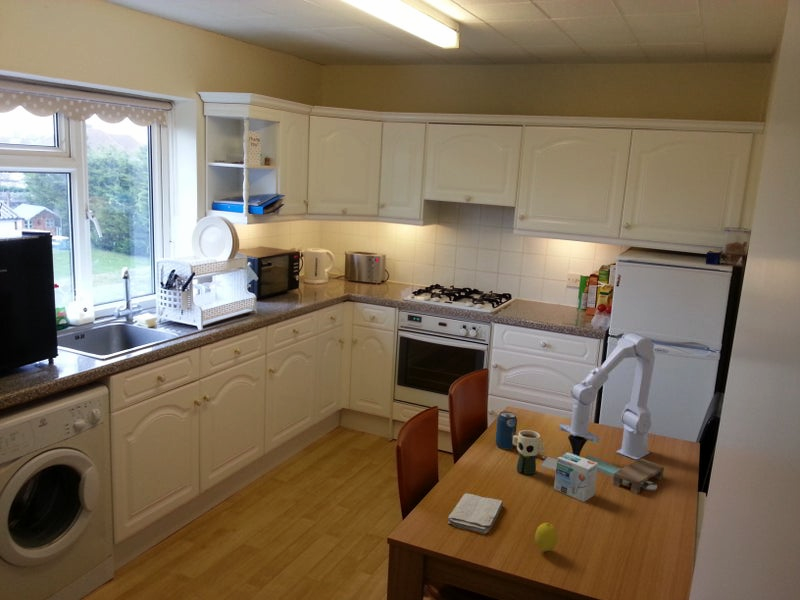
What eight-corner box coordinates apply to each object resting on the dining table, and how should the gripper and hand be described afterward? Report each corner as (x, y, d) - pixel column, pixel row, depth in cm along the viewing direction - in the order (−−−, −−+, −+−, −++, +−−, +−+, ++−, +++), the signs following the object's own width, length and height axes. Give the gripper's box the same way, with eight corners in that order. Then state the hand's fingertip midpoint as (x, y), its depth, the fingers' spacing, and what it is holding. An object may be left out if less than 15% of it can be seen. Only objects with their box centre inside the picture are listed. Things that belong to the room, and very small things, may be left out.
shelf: (639, 469, 222) (641, 458, 221) (662, 478, 216) (664, 466, 215) (613, 484, 209) (614, 472, 209) (636, 494, 204) (638, 482, 203)
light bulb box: (552, 489, 204) (556, 457, 202) (563, 483, 209) (567, 451, 207) (584, 502, 197) (588, 469, 195) (594, 495, 202) (598, 462, 199)
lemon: (531, 545, 172) (534, 517, 170) (551, 545, 172) (555, 517, 171) (537, 557, 167) (540, 528, 165) (558, 557, 167) (561, 529, 165)
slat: (589, 460, 228) (590, 456, 227) (637, 480, 214) (638, 475, 214) (580, 464, 224) (581, 459, 224) (628, 485, 211) (629, 480, 210)
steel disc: (644, 482, 213) (645, 479, 213) (659, 488, 209) (660, 485, 209) (637, 487, 209) (637, 483, 209) (652, 493, 206) (652, 489, 206)
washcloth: (445, 526, 180) (446, 516, 179) (463, 498, 196) (464, 488, 195) (488, 537, 175) (489, 526, 175) (502, 507, 192) (503, 497, 191)
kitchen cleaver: (512, 457, 224) (524, 446, 233) (512, 460, 225) (524, 449, 233) (581, 479, 211) (591, 467, 219) (581, 482, 212) (591, 470, 220)
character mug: (506, 470, 215) (509, 433, 212) (514, 463, 221) (517, 426, 218) (538, 480, 210) (542, 441, 207) (545, 472, 216) (549, 434, 213)
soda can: (516, 450, 231) (519, 418, 229) (496, 449, 231) (499, 417, 229) (513, 442, 238) (516, 411, 236) (493, 441, 238) (496, 410, 236)
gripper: (555, 414, 227) (551, 451, 230) (593, 427, 217) (588, 466, 220) (566, 410, 232) (563, 446, 235) (604, 423, 222) (599, 460, 225)
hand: (576, 455), depth 228 cm, fingers closed
